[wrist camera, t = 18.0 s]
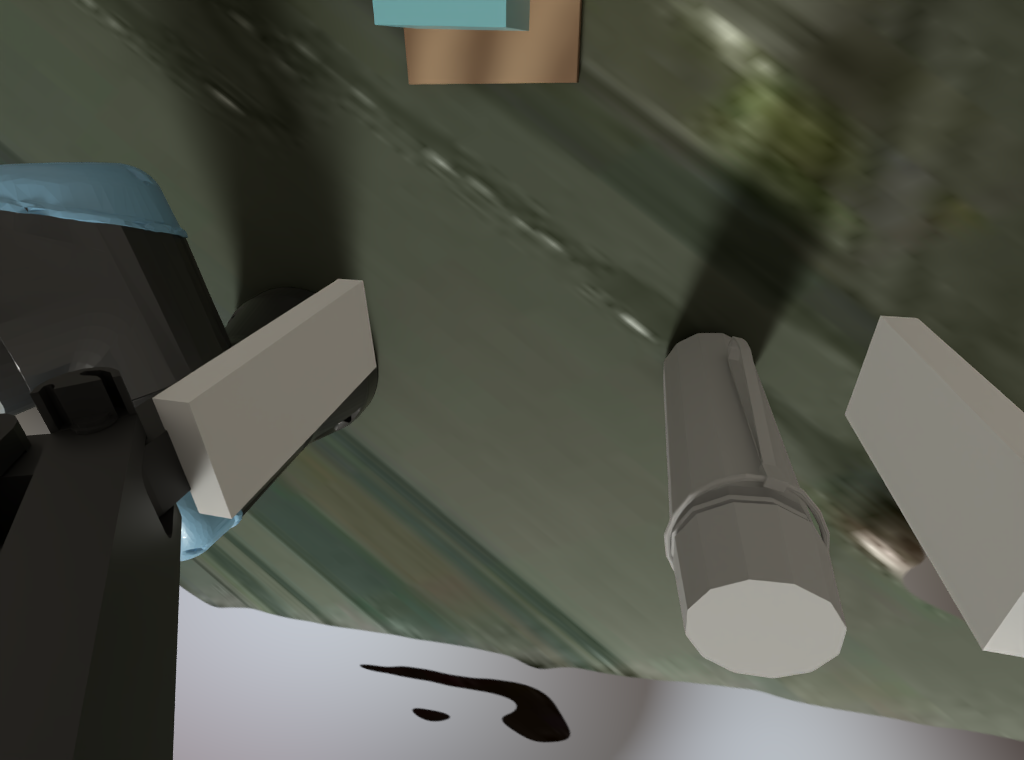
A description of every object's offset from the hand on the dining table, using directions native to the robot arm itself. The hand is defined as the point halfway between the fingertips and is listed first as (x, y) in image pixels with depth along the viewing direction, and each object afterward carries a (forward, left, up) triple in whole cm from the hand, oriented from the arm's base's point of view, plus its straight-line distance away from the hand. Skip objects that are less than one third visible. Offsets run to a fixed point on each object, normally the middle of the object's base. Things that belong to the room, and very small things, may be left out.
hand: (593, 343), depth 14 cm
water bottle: (+8, -14, -29) cm, 33 cm away
